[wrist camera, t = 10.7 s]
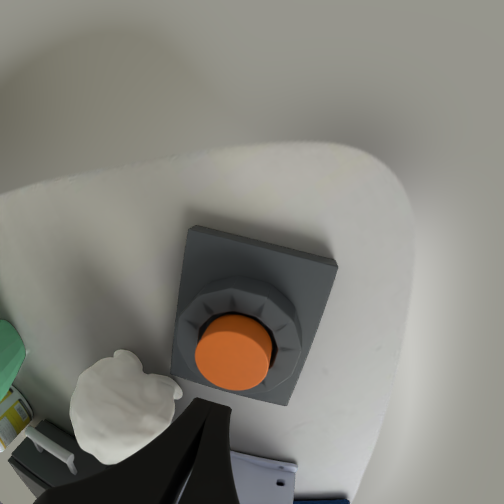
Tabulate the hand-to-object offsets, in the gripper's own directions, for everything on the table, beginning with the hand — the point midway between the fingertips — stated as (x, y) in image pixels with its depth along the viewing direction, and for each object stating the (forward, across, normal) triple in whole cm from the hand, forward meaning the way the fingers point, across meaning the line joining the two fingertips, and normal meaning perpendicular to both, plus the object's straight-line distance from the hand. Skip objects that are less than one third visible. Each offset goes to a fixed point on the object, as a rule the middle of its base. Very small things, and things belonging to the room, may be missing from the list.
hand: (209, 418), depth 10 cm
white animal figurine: (+8, +7, +10) cm, 14 cm away
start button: (+6, 0, 0) cm, 6 cm away
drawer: (+7, +16, +27) cm, 32 cm away
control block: (+8, 0, 0) cm, 8 cm away
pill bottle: (+8, +27, +24) cm, 37 cm away
